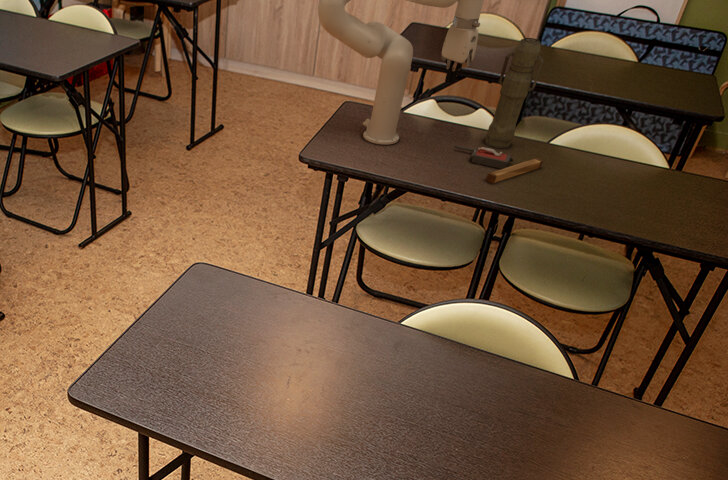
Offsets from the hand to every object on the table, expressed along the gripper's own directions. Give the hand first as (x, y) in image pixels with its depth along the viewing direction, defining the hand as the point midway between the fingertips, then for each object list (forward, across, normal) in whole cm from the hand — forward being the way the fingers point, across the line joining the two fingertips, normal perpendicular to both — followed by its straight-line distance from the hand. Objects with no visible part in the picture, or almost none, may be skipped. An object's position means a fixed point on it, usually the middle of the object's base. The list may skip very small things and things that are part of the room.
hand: (449, 81), depth 229 cm
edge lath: (+22, -30, -6) cm, 38 cm away
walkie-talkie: (+22, -17, -5) cm, 28 cm away
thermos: (+22, -10, -22) cm, 33 cm away
